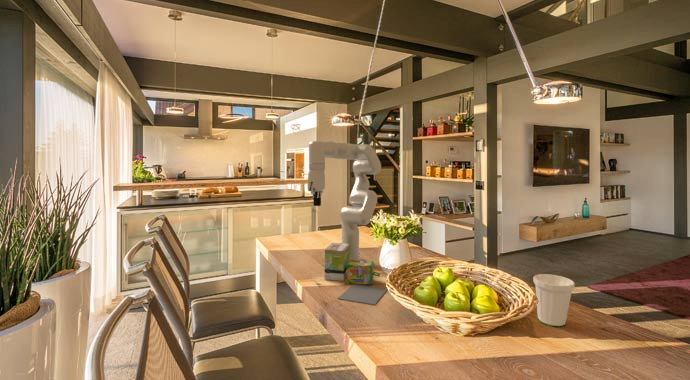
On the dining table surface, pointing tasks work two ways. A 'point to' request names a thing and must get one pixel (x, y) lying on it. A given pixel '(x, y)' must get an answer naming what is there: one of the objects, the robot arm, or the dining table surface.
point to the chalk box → (360, 272)
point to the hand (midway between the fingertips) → (317, 205)
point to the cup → (553, 298)
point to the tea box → (336, 261)
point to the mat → (363, 294)
